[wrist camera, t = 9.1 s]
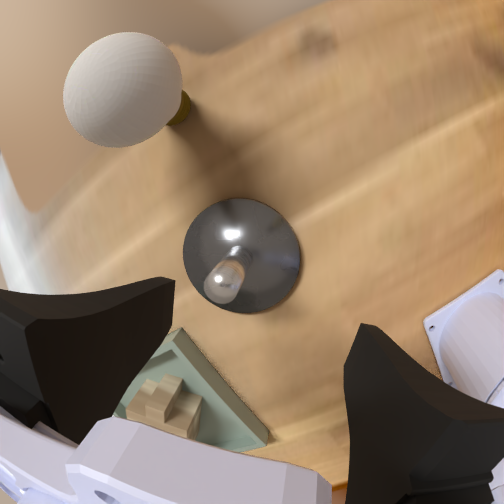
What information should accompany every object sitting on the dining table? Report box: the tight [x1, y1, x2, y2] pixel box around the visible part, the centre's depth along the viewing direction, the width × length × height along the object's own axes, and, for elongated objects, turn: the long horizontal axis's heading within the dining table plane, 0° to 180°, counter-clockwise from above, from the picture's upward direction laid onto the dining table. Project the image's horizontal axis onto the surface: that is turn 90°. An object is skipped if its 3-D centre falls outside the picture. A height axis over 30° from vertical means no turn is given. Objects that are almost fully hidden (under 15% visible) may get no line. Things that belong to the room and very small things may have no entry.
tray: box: [113, 327, 269, 452], centre depth 25 cm, size 13×13×2 cm
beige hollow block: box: [126, 373, 202, 440], centre depth 24 cm, size 8×5×4 cm, turn 171°
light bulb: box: [63, 32, 191, 148], centre depth 14 cm, size 6×6×10 cm
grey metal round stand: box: [183, 198, 300, 313], centre depth 18 cm, size 8×8×6 cm
